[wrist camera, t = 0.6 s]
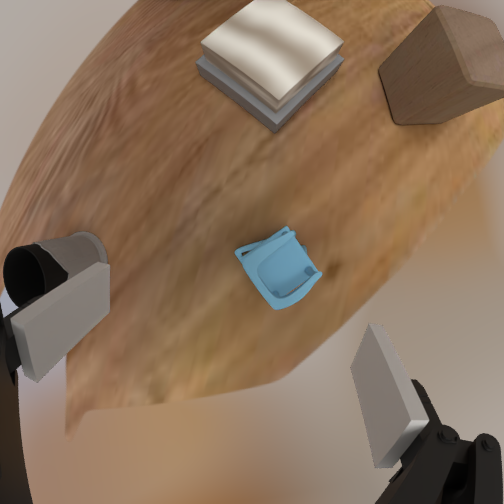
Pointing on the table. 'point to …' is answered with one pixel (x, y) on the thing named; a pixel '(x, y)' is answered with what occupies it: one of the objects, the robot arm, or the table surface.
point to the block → (444, 68)
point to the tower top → (271, 50)
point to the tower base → (257, 106)
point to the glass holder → (49, 264)
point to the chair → (279, 268)
